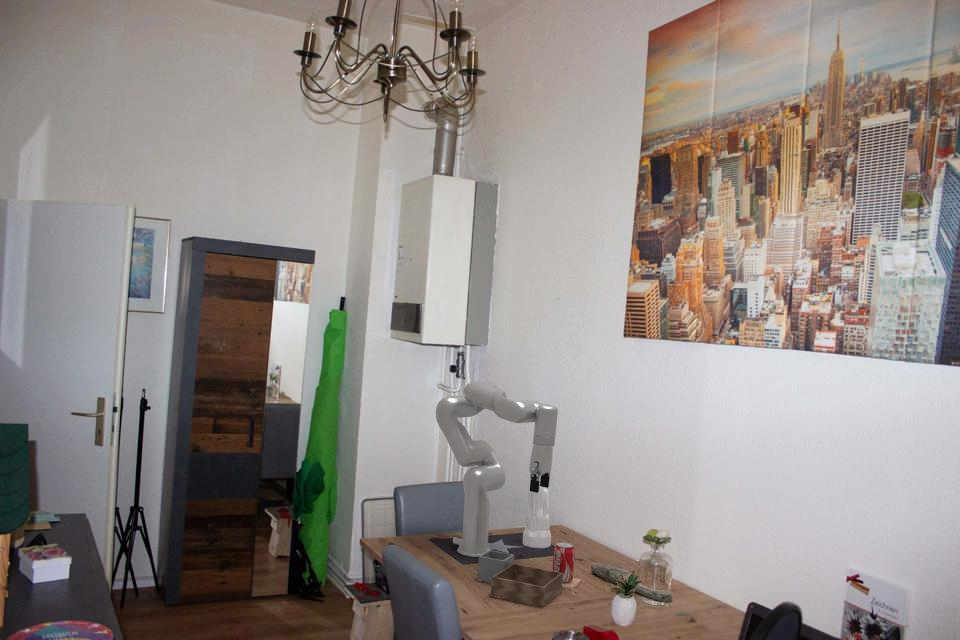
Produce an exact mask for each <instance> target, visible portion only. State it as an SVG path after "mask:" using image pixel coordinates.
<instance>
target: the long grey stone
mask: <svg viewBox="0 0 960 640" xmlns="http://www.w3.org/2000/svg"><path fill="white" fill-rule="evenodd" d="M590 569H591V571H592V573H593V574H595V575H596V576H598V577H599V576H600V577H599V578H601V577H602V578H601V579H603V578H604V580H605V581H606V580H607V581H606V582H609V581H610V582H609V583H612V584H614V585H617V584H616V582H617V581H619V580H620V575H622V576H623V578H624V580H627V579H628V577H629V576H630V575H631V574H632V573H633V572H632V571H630V570H628V569H625V568H621V567H620V566H619V567H617V566H614V565H609V564H606V563H602V562H596V563H595V562H593V563H592V564H591V565H590ZM635 592H636V593H638V594H639V595H642V596H643V597H646V598H648V599H650V600H651V599H652V600H655V601H658V602H662V603H663V602H664V603H670V602H671V601H673V594H672V593H671V592H670V591H669V590H668V591H665V590H656V589H655V590H654V589H651V588H648V587H646V586H643V585H642V584H640V583H639V584H638V585H637V587H636V591H635Z"/></svg>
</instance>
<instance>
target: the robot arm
mask: <svg viewBox="0 0 960 640" xmlns="http://www.w3.org/2000/svg"><path fill="white" fill-rule="evenodd" d="M462 394H463V395H448V396H444V397H443V398H442V399H440V400H439V401H438V402H437V405H436V406H435V407H436V408H435V419H436V422H437V424H438V427H439V428H440V430H441V431H442V434H443V435H444V437H445V439H446V441H447V443H448V445H449V447H450V449H451V451H452V454H453V455H454V458H455V460H456V462H457V464H458V465H459V466H460V467H463V468H470V469H468V470H467V471H466V472H465V473H464V475H463V479H462V484H463V485H462V486H463V491H464V500H463V501H464V502H463V503H464V507H463V522H462V535H461V536H462V537H461V538H460V537H456V536H454V537H453V539H452V544H454V545H458V547H457V553H459V554H460V555H462V556H466V557H471V558H479V556H480V555H482V554H484V553H486V552H487V551H489V550H492V549H491V548H490V547H488V546H489V529H490V511H491V503H490V499H489V496H488V492H493V491H497V490H499V489H500V490H501V488H502V487H503V486H504V485H505V483H506V474H505V470H504V468H503V465H502V464H501V462H500V460H499V458H498V455H497V454H496V453H495V450H494V447H492V445H491V444H490V443H489V441H488V442H487V441H486V440H483V439H476V440H474V439H473V438H472V437H471V435H470V433H469V431H468V429H467V428H466V427H465V425H464V424H463V423H462V422H461V421H460V420H459V418H470V417H474V416H476V415H478V414H479V413H481V412H482V411H484V410H485V409H486V410H488V411H491V412H493V413H494V414H495V415H496V416H497V417H498V418H499V419H502V420H505V421H508V422H511V423H514V424H527V423H528V424H529V423H534V429H533V438H532V444H533V445H532V451H531V455H530V461H529V466H528V467H529V469H528V471H529V473H530V478H529V480H530V481H529V492H530V491H531V492H536V493H538V492H539V484H540V486H541V487H545V488H547V489H548V488H550V477H551V470H552V465H553V448H554V447H555V443H556V433H557V425H558V424H557V422H558V411H559V409H558V407H556V405H551V404H545V403H542V402H540V401H537V400H525V401H524V400H523V401H517V400H512V399H510V398H508V397H507V394H506V391H505V390H503V389H500V388H498V386H497V385H496V384H495V382H493V381H489V380H477V381H476V380H475V381H471V382H468V383H467V384H466V385H465V386H464V388H463V390H462Z"/></svg>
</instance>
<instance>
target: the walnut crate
mask: <svg viewBox="0 0 960 640" xmlns="http://www.w3.org/2000/svg"><path fill="white" fill-rule="evenodd" d="M562 581H563V573H560V572H555V571H553V570H550V569H544V568H539V567H534V566H529V565H524V564H519V563H515V562H514V563H513V564H511V565H510V566H508V567H506V568H505V569H503V570H502V571H500V572H499V573H497V574H496V575H494V576H492V582H491V583H490V584H491V585H490V586H491V587H490V596H491V595H492V596H496V597H495V598H497V597H500V598H499V599H501V598H504V599H503V600H506V599H508V600H507V601H511V600H513V601H512V602H515V601H518V602H517V603H521V604H524V603H525V605H530V606H535V607H538V608H545V606H547V605H548V604H549V603H550V602H552V601H553V600H554V599H555V598H556V597H557V596H558V595H560V594H561V593H562V591H563V588H562ZM492 596H491V597H492Z"/></svg>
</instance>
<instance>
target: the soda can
mask: <svg viewBox="0 0 960 640" xmlns="http://www.w3.org/2000/svg"><path fill="white" fill-rule="evenodd" d="M575 551H576V550H575V548H574V544H573V543H570V542H567V541H566V542H565V541H560V542H559V541H558V542H556V545H555V547H554V549H553V557H552V558H553V560H552V571H555V572H560V573H563V581H562V583H568V582H570V581H572V580H573V578H574V573H575V558H576V557H575V556H576V552H575Z"/></svg>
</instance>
